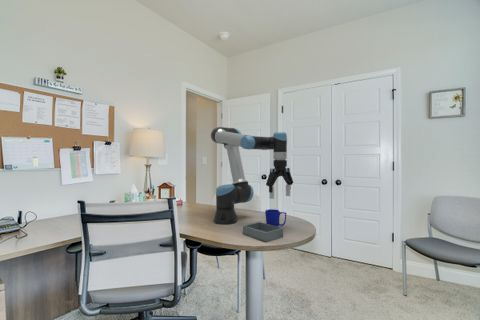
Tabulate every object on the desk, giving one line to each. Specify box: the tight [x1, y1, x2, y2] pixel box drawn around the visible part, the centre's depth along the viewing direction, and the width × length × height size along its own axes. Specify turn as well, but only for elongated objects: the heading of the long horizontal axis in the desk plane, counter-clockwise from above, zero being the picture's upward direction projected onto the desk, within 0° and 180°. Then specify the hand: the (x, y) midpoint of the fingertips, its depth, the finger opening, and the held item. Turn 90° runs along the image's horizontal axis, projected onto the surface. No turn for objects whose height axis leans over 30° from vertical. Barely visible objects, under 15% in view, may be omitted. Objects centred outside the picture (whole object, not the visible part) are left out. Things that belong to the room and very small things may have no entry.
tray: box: [242, 221, 284, 243], centre depth 129 cm, size 17×12×4 cm
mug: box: [264, 208, 287, 227], centre depth 142 cm, size 8×12×10 cm
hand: (280, 197), depth 140 cm, fingers open, 13 cm apart
